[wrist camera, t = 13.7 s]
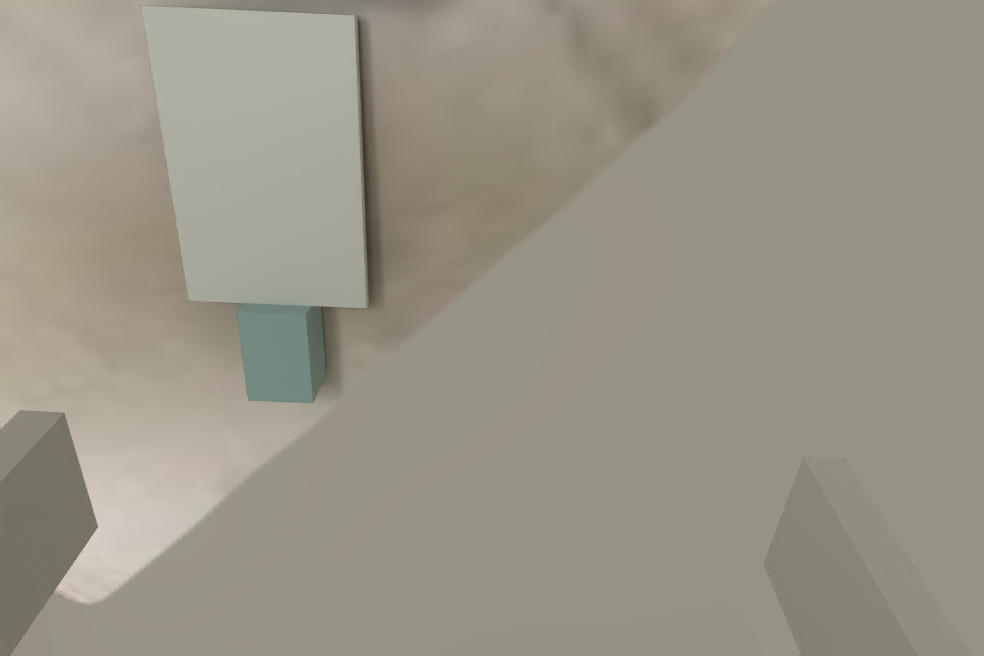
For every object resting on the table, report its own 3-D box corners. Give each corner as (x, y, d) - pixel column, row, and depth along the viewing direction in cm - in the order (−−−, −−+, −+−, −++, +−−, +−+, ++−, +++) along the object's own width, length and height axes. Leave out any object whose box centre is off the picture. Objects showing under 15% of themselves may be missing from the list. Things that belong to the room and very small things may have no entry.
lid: (161, 4, 36) (128, 6, 33) (362, 14, 37) (349, 16, 33) (216, 369, 46) (194, 398, 43) (375, 376, 46) (366, 405, 43)
